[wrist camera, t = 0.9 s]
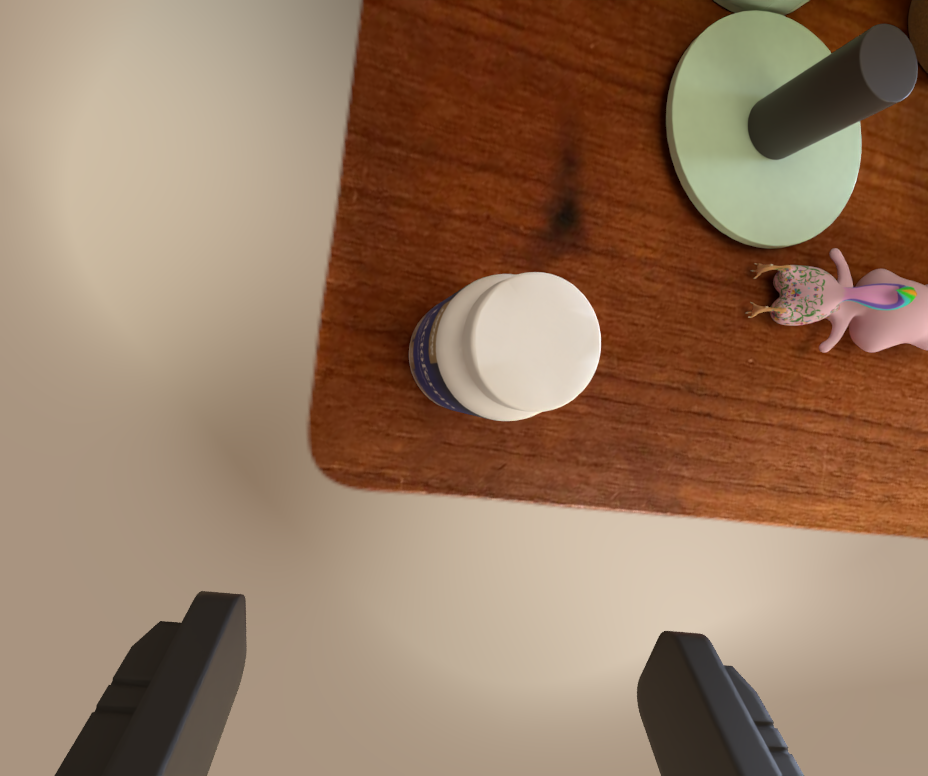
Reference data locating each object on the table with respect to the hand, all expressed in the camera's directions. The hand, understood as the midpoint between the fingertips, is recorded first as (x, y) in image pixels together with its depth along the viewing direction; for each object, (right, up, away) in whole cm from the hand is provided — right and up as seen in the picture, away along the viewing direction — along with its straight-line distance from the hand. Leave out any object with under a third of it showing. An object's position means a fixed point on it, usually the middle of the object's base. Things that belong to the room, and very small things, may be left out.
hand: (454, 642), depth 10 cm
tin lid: (+18, +20, +21) cm, 34 cm away
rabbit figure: (+24, +10, +23) cm, 35 cm away
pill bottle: (0, +7, +17) cm, 18 cm away
